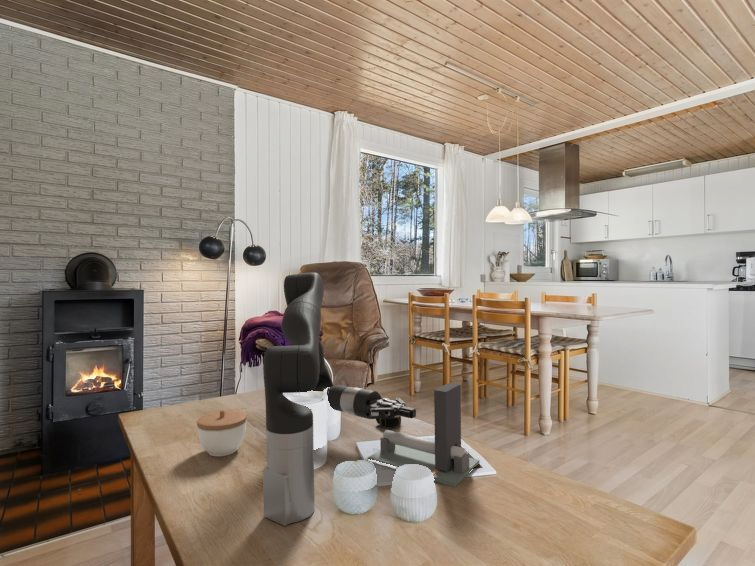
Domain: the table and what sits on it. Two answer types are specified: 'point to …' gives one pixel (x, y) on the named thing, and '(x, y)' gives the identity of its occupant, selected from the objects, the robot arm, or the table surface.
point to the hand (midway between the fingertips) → (414, 413)
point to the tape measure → (389, 422)
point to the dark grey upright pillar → (447, 424)
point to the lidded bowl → (222, 432)
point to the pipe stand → (423, 456)
